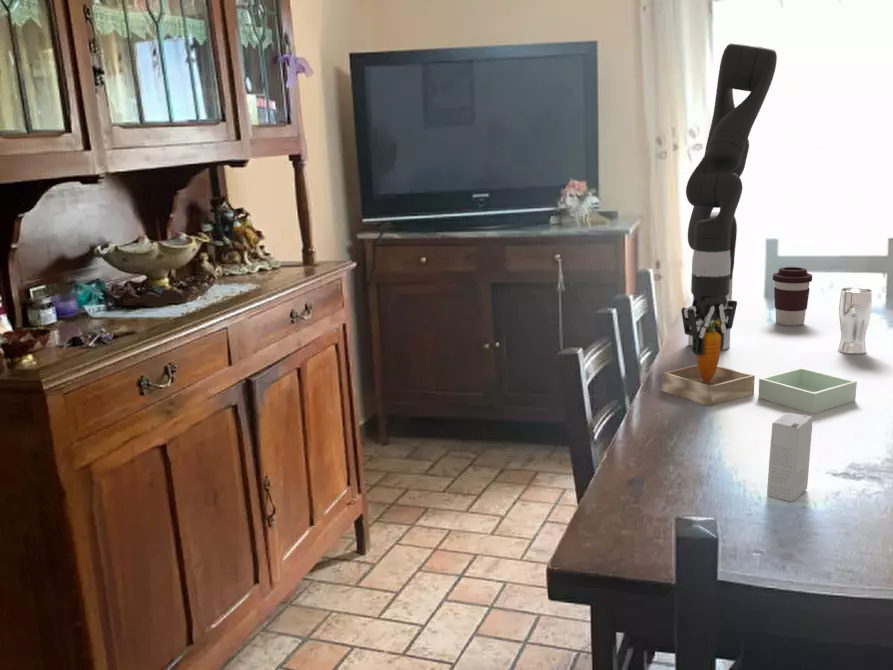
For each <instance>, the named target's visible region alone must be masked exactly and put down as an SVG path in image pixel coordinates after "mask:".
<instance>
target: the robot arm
mask: <svg viewBox="0 0 893 670" xmlns="http://www.w3.org/2000/svg"><path fill="white" fill-rule="evenodd" d="M777 61H778V56H777V51H776V50H775V49H773V48H770V47H767V46H760V45H754V44H746V43H739V42H732V43H728V45H726V47H725V48H724V50H723V53H722V56H721V59H720V63H719V64H720V65H719V70H718V76H717V85H716V90H715V91H716V94H715V101H714V109H713V113H712V114H713V115H712V118H711V123H710V126H709V127H710V129H709V131H708V136H707V140H706V141H707V142H706V146H705V152H704V156H703V158H701V161H700V162H699V163H698V164H697V166H696V167H695V168H694V170H693V171H692V173H691V175H689V178H688V181H687V184H686V187H685V188H686V189H685V196H686V198H687V201H688V202H689V204H691V205H692V207H693V208H692V211H691V215H690V219H689V223H688V227H687V228H688V229H687V243H688V246H689V248H690V249H691V250H693V254H692V259H691V260H692V261H691V283H690V284H691V285H690V292H691V294H692V303H691V305H690V306H688V307H682V308H681V316H682V324H683V331H684V334H685V335H687V336H688V339H687V340H688V342H687V343H688V345H689V346H691V347H692V348H691V350H692V352H693V353H692V354H694V355H695V356H696V355H699V356H701V355H703V354H704V338H703V336H704V333H705V330H706V328H707V327H708V326H709V323H711V326H712V324H713V322H714V320H717V319H718V318H719V320H718V323H717V324H716V325H715V327H714V329H713V331H716V332H717V333H719V334H720V336H721V345H720V352H721V351H724V350H727V349H729V348H730V345H731V329H732V328H733V324H734V321H735V320H734V319H735V316H736V310H737V306H738V302H737V300H733V298H732V297H733V277H734V276H733V275H734V274H733V273H734V266H735V255H736V254H735V253H736V246H737V235H738V234H737V233H738V224H737V219H736V217H735V214H736V210H737V208H738V205H739V203H740V199H741V198H742V197H741V196H742V192H743V183H742V178H741V176H742V175H743V173H744V170H745V168H746V162H747V158H748V153H749V150H750V141H749V136H750V134H751V130H752V127H753V125H754V124H755V121H756V119H757V117H758V115H759V112H760V111H761V109H762V106H763V104H764V102H765V99H766V97H767V95H768V92H769V90H770V88H771V84H772V82H773V79H774V77H775V72H776V67H777ZM734 90H738V91H744V92H749V94H748V95H747V97H746V98H745V99H744V100H742V102H740V103H739V104H738V105H737V106H736V105H735V101H734V94H733V93H734V92H733V91H734ZM714 208H715V209H716V208H718V209H719V211H718V212H715V211H714V212H712V211H713V210H714ZM703 321H704V322H703ZM708 328H709V327H708Z"/></svg>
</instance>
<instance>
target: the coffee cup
mask: <svg viewBox="0 0 893 670" xmlns="http://www.w3.org/2000/svg"><path fill="white" fill-rule="evenodd" d="M772 280H773V281H774V289H773V292H774V293H773V294H774V295H773V296H774V309H775V323H777V324H778V325H782V326H789V327H793V326H794V327H799V326H801V325H804V323H805V319H806V314H807V309H808V304H809V303H808V301H809V296H810V283H811V282H812V281H813V274H811V273H809V272H808V270H807V268H804V267H800V266H784V267H780V268H779V269H778V271H777V272H775V273H773V274H772Z"/></svg>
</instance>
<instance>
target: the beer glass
mask: <svg viewBox="0 0 893 670" xmlns="http://www.w3.org/2000/svg"><path fill="white" fill-rule="evenodd" d="M840 291H841V292H840V298H839V306H838V315H839V317H838V318H839V326H840V341H839V346H838V349H837V350H838V352H839V353H841V354H846V355H863V354H866V353H867V347H866V334H867V330H868V328H869V323H870V319H871V314H872V307H873V306H872V304H873V297H872V289H870V288H865V287H859V286H858V287H854V286H852V287H842V288H841V290H840Z"/></svg>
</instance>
